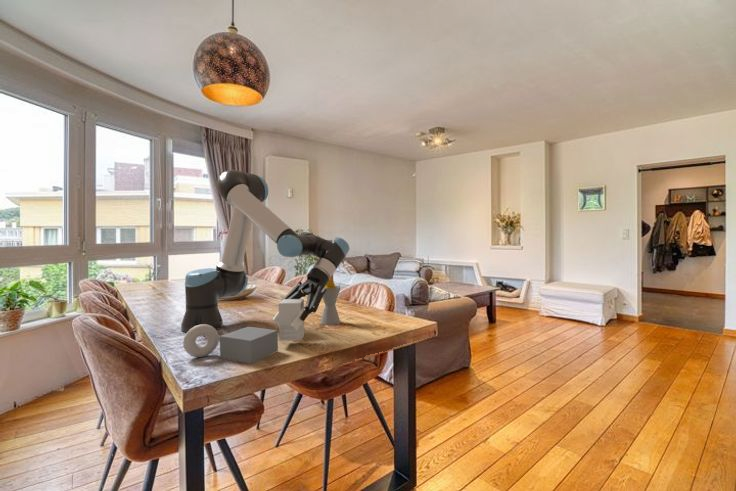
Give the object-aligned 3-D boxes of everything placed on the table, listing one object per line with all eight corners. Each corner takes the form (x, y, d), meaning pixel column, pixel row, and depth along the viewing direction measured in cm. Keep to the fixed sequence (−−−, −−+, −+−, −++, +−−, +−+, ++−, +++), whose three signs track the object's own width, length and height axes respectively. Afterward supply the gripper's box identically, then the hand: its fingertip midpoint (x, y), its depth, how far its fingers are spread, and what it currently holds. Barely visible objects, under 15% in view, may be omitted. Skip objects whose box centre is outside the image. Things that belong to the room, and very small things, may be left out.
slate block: (220, 359, 107) (219, 336, 106) (248, 347, 117) (248, 326, 117) (251, 364, 102) (250, 340, 101) (277, 352, 113) (277, 330, 112)
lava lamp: (321, 319, 154) (321, 239, 153) (342, 319, 154) (341, 239, 153) (317, 325, 145) (316, 240, 144) (339, 325, 145) (338, 240, 144)
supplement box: (304, 334, 123) (304, 298, 122) (300, 341, 115) (300, 302, 115) (283, 334, 123) (283, 298, 122) (278, 341, 115) (278, 302, 115)
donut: (184, 361, 104) (183, 328, 103) (182, 358, 106) (182, 325, 106) (220, 355, 109) (219, 323, 109) (218, 352, 112) (217, 320, 112)
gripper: (348, 283, 122) (312, 337, 111) (307, 277, 137) (272, 325, 126) (336, 269, 118) (298, 324, 107) (296, 264, 133) (258, 312, 122)
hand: (284, 324), depth 117 cm, fingers closed on supplement box, 10 cm apart
